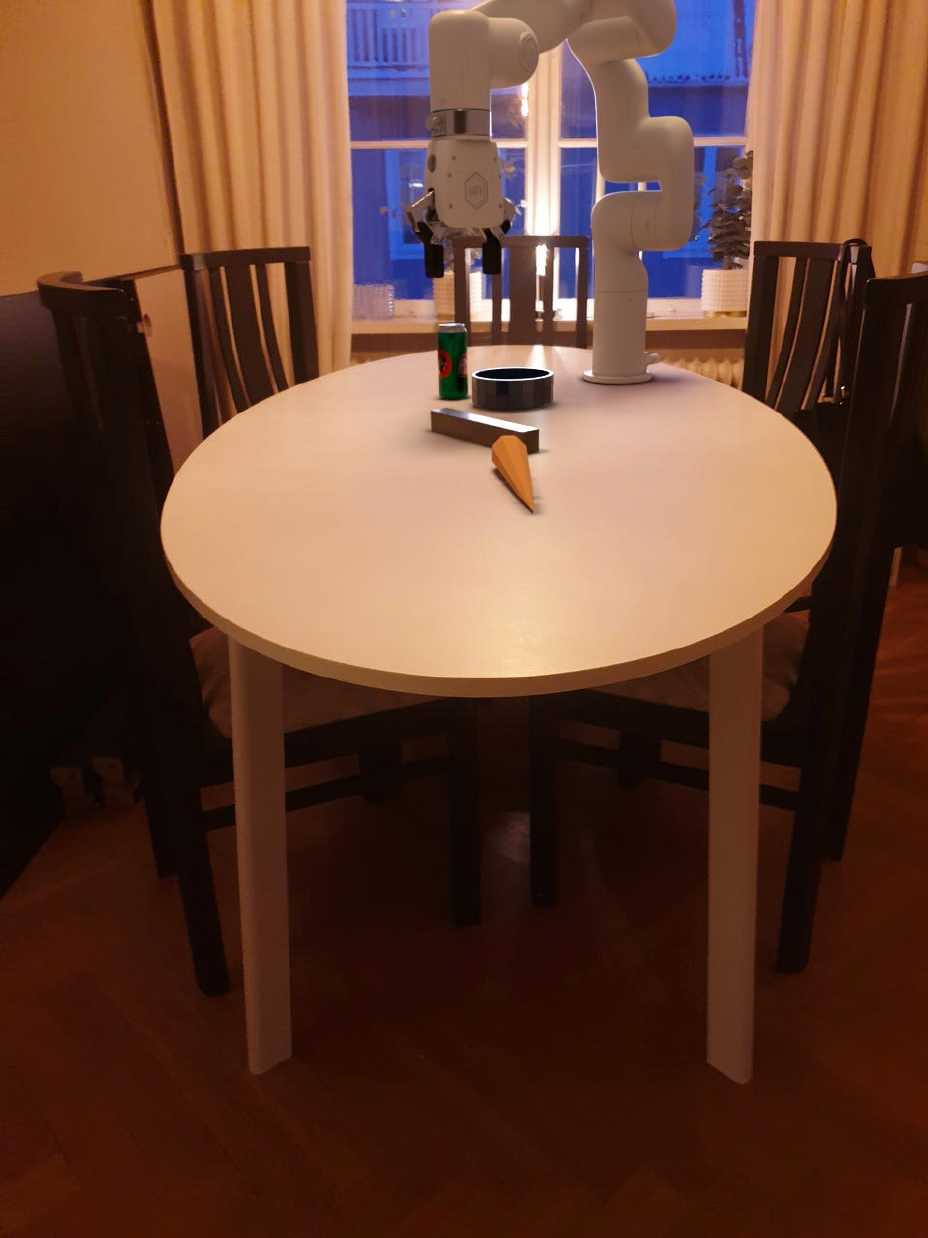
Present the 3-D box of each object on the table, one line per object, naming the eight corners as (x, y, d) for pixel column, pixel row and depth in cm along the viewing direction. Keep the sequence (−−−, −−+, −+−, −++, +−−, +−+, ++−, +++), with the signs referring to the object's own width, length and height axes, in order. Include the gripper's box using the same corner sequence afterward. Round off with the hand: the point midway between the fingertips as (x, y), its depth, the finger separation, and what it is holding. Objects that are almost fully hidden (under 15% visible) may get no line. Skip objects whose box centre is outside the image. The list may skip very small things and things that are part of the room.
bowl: (516, 394, 156) (516, 364, 154) (569, 404, 147) (570, 373, 144) (456, 404, 149) (455, 373, 147) (507, 416, 139) (507, 383, 137)
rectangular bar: (447, 428, 132) (447, 407, 131) (539, 451, 118) (539, 428, 117) (431, 431, 131) (430, 410, 130) (521, 455, 116) (522, 432, 115)
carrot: (496, 471, 112) (482, 439, 110) (530, 456, 111) (516, 424, 109) (521, 537, 95) (505, 501, 92) (560, 520, 94) (545, 483, 92)
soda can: (465, 400, 152) (463, 326, 147) (436, 400, 153) (433, 326, 148) (471, 395, 157) (469, 322, 152) (442, 394, 158) (440, 322, 153)
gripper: (423, 123, 105) (428, 280, 112) (532, 130, 115) (531, 273, 122) (387, 129, 110) (394, 278, 117) (493, 135, 120) (494, 272, 127)
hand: (463, 275), depth 119 cm, fingers open, 9 cm apart
